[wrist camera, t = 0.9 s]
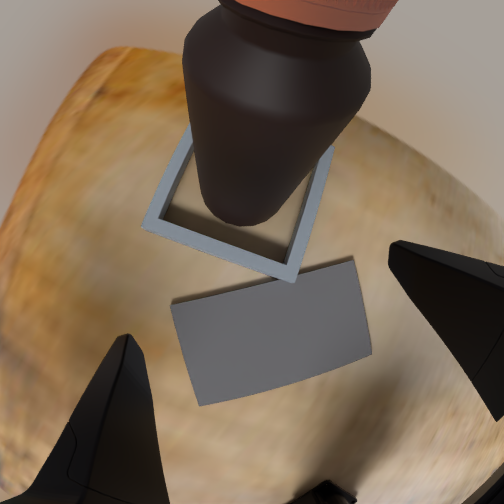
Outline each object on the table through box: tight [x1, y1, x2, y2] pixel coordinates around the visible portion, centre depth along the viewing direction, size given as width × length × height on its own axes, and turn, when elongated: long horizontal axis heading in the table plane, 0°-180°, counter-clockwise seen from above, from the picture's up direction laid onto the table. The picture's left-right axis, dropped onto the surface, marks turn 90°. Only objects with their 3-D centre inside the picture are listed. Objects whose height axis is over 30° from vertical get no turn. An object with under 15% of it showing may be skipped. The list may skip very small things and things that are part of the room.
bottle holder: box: [141, 123, 335, 283], centre depth 22 cm, size 12×12×2 cm
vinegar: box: [182, 0, 398, 226], centre depth 13 cm, size 7×7×20 cm
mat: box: [170, 260, 372, 406], centre depth 21 cm, size 8×15×1 cm, turn 103°
